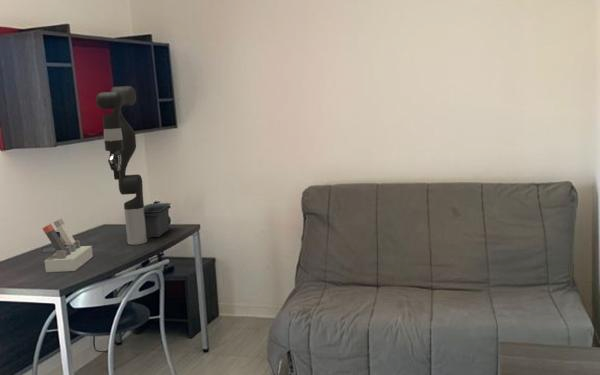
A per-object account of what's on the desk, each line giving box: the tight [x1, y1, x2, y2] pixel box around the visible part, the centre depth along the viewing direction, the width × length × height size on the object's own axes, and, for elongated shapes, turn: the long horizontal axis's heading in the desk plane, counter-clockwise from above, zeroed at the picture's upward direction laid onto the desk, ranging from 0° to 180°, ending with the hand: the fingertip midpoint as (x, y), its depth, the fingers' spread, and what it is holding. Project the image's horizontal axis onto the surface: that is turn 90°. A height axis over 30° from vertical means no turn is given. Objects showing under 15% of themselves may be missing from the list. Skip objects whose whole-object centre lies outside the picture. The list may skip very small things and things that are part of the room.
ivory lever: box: [52, 218, 77, 248], centre depth 263 cm, size 4×2×14 cm, turn 0°
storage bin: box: [144, 202, 172, 239], centre depth 308 cm, size 21×16×14 cm
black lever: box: [42, 223, 68, 255], centre depth 252 cm, size 4×2×14 cm, turn 0°
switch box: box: [44, 240, 94, 273], centre depth 259 cm, size 22×12×8 cm, turn 0°
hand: (117, 179), depth 260 cm, fingers closed
